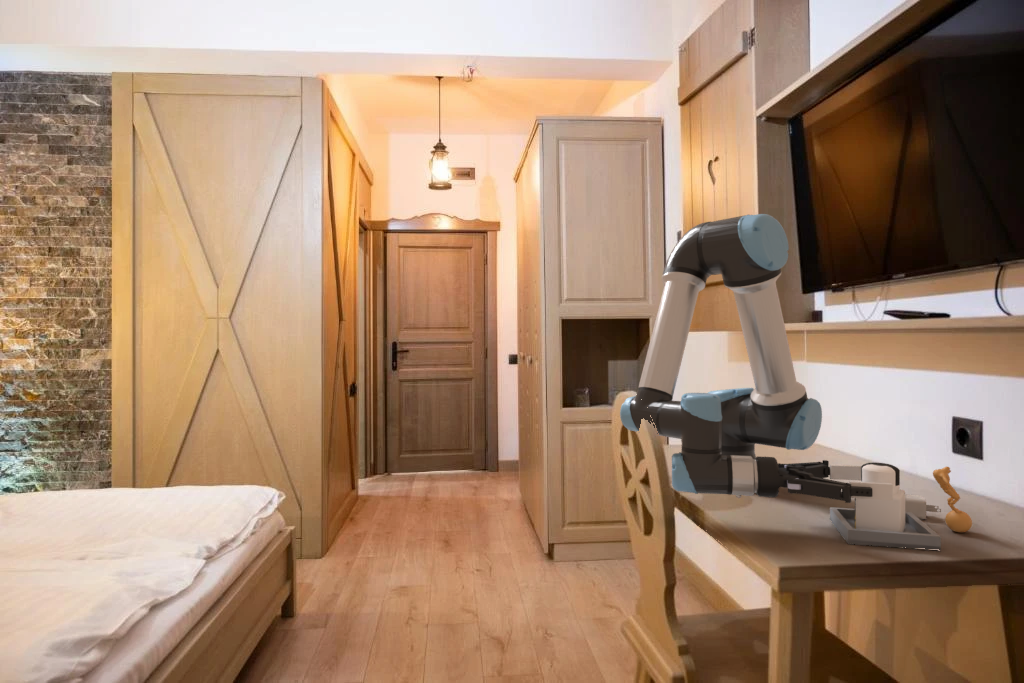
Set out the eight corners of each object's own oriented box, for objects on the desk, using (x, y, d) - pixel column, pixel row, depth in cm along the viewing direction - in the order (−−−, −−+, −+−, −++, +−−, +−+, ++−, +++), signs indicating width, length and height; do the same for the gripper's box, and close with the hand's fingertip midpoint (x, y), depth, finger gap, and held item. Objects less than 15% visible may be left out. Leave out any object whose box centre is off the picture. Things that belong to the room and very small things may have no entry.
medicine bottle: (861, 521, 115) (861, 458, 115) (905, 528, 111) (905, 463, 111) (854, 531, 110) (854, 465, 110) (900, 539, 105) (900, 470, 105)
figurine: (980, 540, 106) (981, 472, 106) (941, 537, 108) (941, 470, 108) (962, 525, 114) (962, 462, 114) (925, 523, 116) (925, 461, 116)
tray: (829, 519, 119) (829, 507, 119) (911, 525, 115) (911, 512, 115) (848, 544, 105) (848, 529, 105) (940, 551, 102) (940, 536, 101)
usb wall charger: (896, 512, 123) (896, 492, 123) (937, 516, 121) (937, 496, 120) (900, 518, 120) (900, 498, 120) (942, 522, 117) (942, 501, 117)
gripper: (746, 479, 128) (858, 485, 122) (764, 515, 104) (904, 523, 98) (746, 444, 128) (858, 448, 122) (764, 471, 103) (904, 478, 98)
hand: (879, 482), depth 110 cm, fingers open, 13 cm apart
